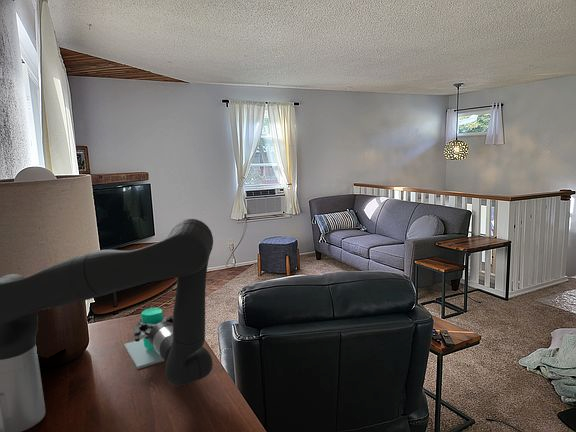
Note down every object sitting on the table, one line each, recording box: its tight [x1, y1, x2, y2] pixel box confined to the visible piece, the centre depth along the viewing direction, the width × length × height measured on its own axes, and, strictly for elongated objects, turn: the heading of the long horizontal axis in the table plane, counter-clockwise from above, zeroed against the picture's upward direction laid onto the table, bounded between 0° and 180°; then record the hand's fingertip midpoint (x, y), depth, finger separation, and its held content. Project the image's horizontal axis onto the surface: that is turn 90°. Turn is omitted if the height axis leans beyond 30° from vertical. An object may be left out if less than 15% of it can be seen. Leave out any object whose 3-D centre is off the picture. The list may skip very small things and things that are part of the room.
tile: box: [124, 338, 165, 370], centre depth 116 cm, size 16×14×1 cm
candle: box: [140, 306, 164, 349], centre depth 115 cm, size 6×6×12 cm
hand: (150, 319), depth 117 cm, fingers closed on candle, 4 cm apart
